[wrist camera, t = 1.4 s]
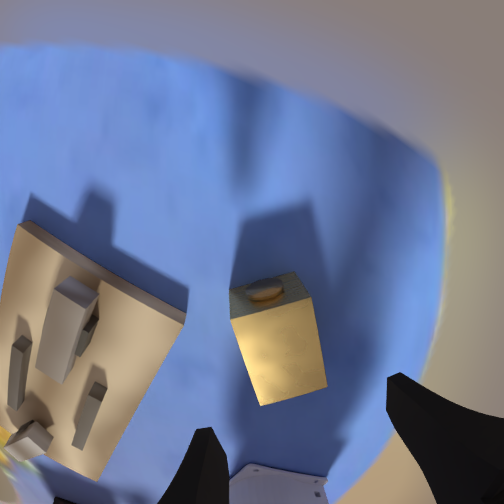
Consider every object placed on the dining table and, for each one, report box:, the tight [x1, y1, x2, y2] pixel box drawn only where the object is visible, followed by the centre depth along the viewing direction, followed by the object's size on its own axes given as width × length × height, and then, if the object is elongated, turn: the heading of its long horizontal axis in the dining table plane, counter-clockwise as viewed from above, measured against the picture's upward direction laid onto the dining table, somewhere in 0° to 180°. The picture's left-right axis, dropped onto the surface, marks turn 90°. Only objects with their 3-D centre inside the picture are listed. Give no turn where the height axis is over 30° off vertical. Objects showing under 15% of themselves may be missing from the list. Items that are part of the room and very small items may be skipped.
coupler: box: [229, 272, 328, 406], centre depth 17 cm, size 4×7×4 cm, turn 14°
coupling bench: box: [0, 220, 186, 482], centre depth 17 cm, size 12×22×4 cm, turn 149°
